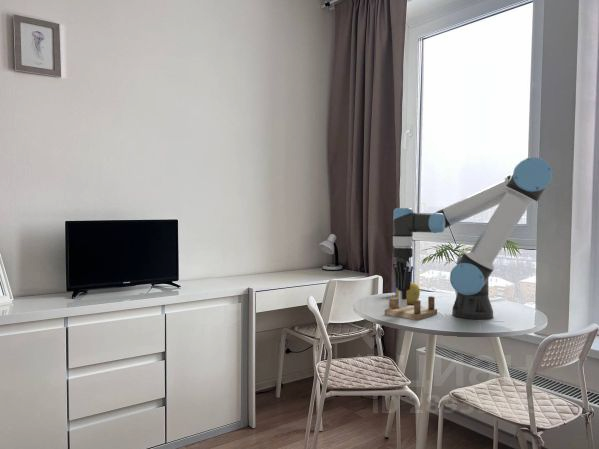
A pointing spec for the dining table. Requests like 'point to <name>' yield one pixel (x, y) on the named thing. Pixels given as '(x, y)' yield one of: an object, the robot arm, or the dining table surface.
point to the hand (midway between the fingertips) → (402, 307)
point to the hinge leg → (394, 302)
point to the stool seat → (414, 310)
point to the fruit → (411, 293)
